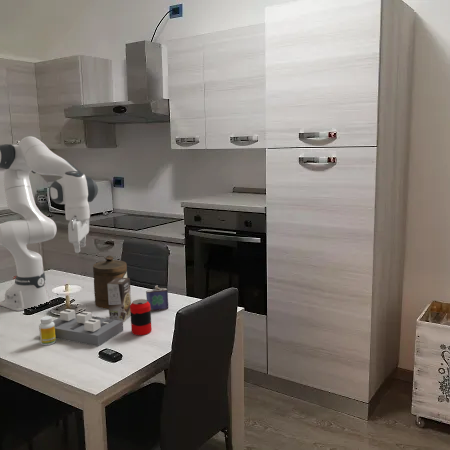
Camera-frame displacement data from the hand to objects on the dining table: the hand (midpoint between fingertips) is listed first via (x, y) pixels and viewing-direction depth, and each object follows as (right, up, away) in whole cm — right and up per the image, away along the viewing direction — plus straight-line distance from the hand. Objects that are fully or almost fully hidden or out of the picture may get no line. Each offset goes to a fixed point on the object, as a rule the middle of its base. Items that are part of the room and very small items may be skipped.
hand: (80, 249), depth 188 cm
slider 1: (-5, -27, +2) cm, 28 cm away
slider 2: (+2, -28, -2) cm, 28 cm away
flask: (+27, -27, +22) cm, 44 cm away
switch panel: (-1, -32, -1) cm, 32 cm away
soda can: (+24, -32, -1) cm, 40 cm away
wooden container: (+5, -26, +32) cm, 41 cm away
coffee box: (+13, -29, +13) cm, 34 cm away
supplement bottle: (-9, -34, -9) cm, 36 cm away
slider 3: (+7, -29, -9) cm, 31 cm away
